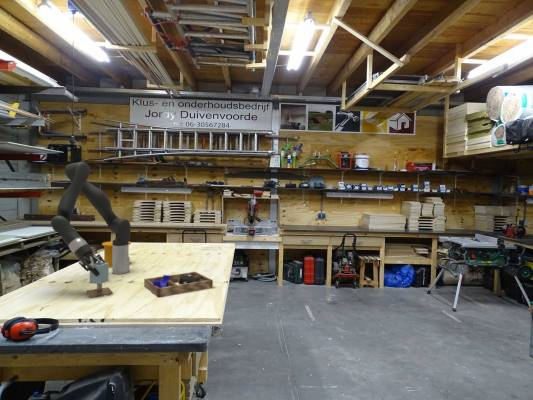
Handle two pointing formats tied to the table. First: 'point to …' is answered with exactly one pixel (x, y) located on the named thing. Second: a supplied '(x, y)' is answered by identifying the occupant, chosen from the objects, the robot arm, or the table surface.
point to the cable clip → (162, 282)
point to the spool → (108, 252)
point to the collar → (103, 271)
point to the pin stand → (99, 291)
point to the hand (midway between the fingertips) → (102, 273)
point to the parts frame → (176, 288)
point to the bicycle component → (189, 279)
